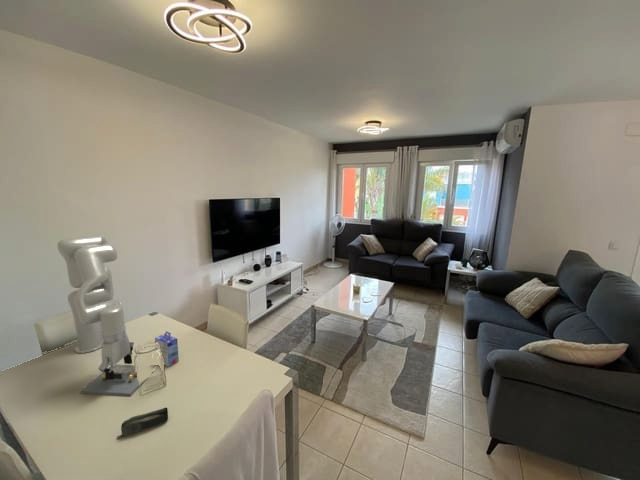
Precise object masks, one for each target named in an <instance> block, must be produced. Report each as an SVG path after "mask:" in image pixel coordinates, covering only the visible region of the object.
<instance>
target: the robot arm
mask: <svg viewBox="0 0 640 480" xmlns="http://www.w3.org/2000/svg"><path fill="white" fill-rule="evenodd" d="M57 250H58V252H59V253H60V256H61V257H63V259H64V261H65V263H66V268H67V274H68V275H67V276H68V280H69V281H68V282H69V285H70V287H72V288H74V289H76V290H73V291H71V292H70V293H69V294H68V296H67V303H68V305H69V307H70V309H71V312H72V316H73V323H74V328H75V333H76V339H77V345H76V346H75V347H74V352H75V353H76V354H87V353H91V352H94V351H97V350H99V349H101V363H100V364H99V366H98V368H97V369H98V370H99V371H100V372H101V373H103V372H105V375H106V379H107V380H113V379H114V378H115V377H114V371H113V370H112V369H113V367H114V365H117V364H118V363H119V362H121V361H122V360H123V363H124V365H133V364H132V363H133V357H132V355H133V350H134V345H135V342H134V341H130V339H129V336H128V334H127V331H126V329H127V328H126V321H125V315H124V314H125V313H124V308H123V304H122V302H121V301H120V300H117V299H114V285H113V277H112V271H111V269H110V267H109V266H108V265H106V264H104V263H110V262H115V261H116V260H117V258H118V251H117V249H116V246H114V244H113V243H112V241H110V239H108V237H107V236H105V235H102V234H98V235H87V236H78V237H76V236H75V237H68V238H64V239H63V238H62V239H60V240H59V241H58V242H57ZM109 367H110V368H109ZM108 368H109V369H108Z"/></svg>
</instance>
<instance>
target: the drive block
mask: <svg viewBox="0 0 640 480" xmlns="http://www.w3.org/2000/svg"><path fill="white" fill-rule="evenodd" d="M133 366H134V365H133V364H115V365H114V367H113V369H112V370H113V371H114V377H115V378H114V379H113V380H108V381H114V382H127V381H128V380H129V378H128V375H129V374H133V375H134V371H133Z"/></svg>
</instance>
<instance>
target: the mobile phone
mask: <svg viewBox="0 0 640 480" xmlns="http://www.w3.org/2000/svg"><path fill="white" fill-rule="evenodd" d="M168 411H169V410H168V407H163V408H161V409H157V410H154V411H153V410H152V411H150V412H148V413H143V414H138V415H134V416H131V417H130V418H128V419H126V420H125V421H123V422H122V423H121V426H120V430H121V431H120V432H121V434H120V435H117V436H116V439H121V438H123V437H125V436H128V435H131V434H134V433H137V432H140V431H144V430H146V429H151V428H153V427H154V428H155V427H156V426H160V425H163V424H165V423H166V422H167V421H168V420H169V412H168Z"/></svg>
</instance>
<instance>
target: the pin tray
mask: <svg viewBox="0 0 640 480" xmlns="http://www.w3.org/2000/svg"><path fill="white" fill-rule="evenodd" d="M135 366H136V365H133V371H134V375H133V374H129V375H128V378H129V380H128V381H127V382H114V381H108V380H107V379H106V375H105V372H101V373H100V374H99V375H98V376H96V378H94V379H93V380H92V381H90V382H89V383H88V384H87V385H85V386H84V387H83V388H81V390H80V391H79V392H80V394H89V395H105V396H107V395H108V396H121V397H123V396H124V397H132V395H134V393H136V391H138V390H139V388H140V387H139V382H138V380H137V372H136V369H135ZM109 368H110V366H108V368H107V369H109Z"/></svg>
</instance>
